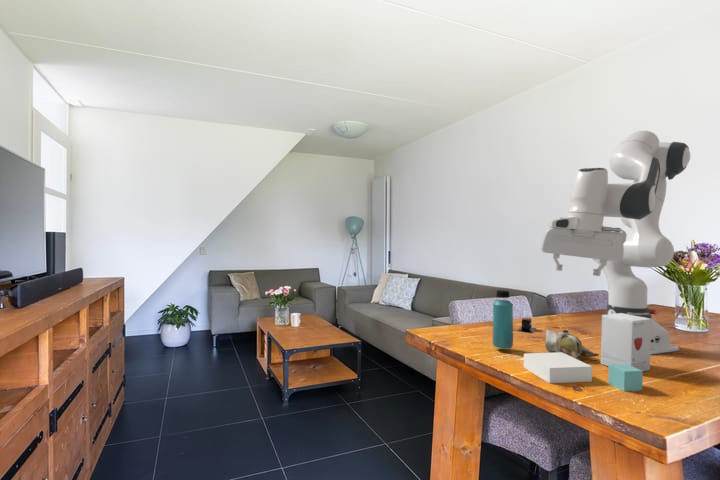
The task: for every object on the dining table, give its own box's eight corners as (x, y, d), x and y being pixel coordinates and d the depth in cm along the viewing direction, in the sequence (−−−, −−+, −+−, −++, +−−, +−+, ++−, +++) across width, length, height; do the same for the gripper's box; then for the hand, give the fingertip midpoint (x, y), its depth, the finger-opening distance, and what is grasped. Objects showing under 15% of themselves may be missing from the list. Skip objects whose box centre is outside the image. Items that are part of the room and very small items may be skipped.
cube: (625, 382, 99) (625, 363, 99) (642, 390, 94) (642, 370, 94) (608, 383, 98) (608, 364, 98) (624, 391, 93) (624, 371, 93)
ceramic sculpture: (558, 322, 128) (601, 336, 115) (556, 347, 129) (599, 363, 115) (535, 325, 124) (578, 340, 110) (534, 351, 125) (576, 369, 111)
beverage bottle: (514, 354, 122) (515, 292, 121) (493, 352, 123) (494, 291, 123) (511, 348, 128) (511, 289, 128) (490, 346, 129) (491, 288, 129)
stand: (561, 365, 111) (561, 352, 111) (591, 381, 99) (592, 366, 99) (523, 367, 109) (523, 353, 109) (549, 383, 98) (549, 368, 98)
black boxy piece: (534, 335, 147) (534, 323, 147) (513, 333, 151) (513, 320, 151) (538, 328, 158) (538, 317, 158) (518, 326, 162) (519, 314, 162)
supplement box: (631, 374, 104) (632, 320, 104) (599, 364, 113) (600, 314, 112) (651, 370, 108) (652, 318, 108) (619, 360, 116) (620, 312, 116)
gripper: (624, 229, 106) (616, 277, 106) (543, 221, 113) (537, 266, 114) (631, 228, 100) (623, 279, 100) (545, 220, 107) (539, 268, 108)
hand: (577, 273), depth 107 cm, fingers open, 8 cm apart
